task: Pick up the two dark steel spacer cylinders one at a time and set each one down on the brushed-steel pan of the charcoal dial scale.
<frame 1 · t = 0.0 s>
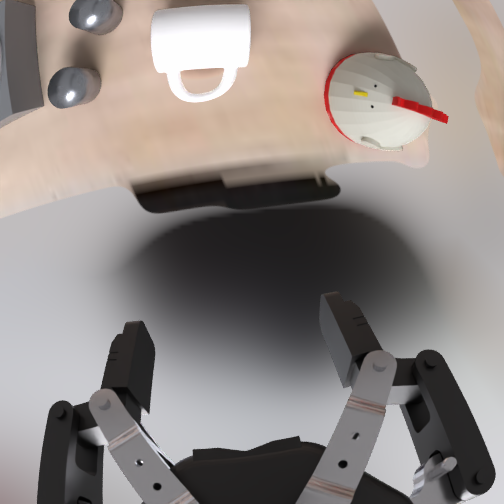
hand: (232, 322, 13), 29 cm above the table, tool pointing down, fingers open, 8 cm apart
spacer 1: (104, 18, 24), on the table
mug: (203, 56, 30), on the table
kitchen timer: (368, 98, 35), on the table
spacer 2: (84, 86, 29), on the table
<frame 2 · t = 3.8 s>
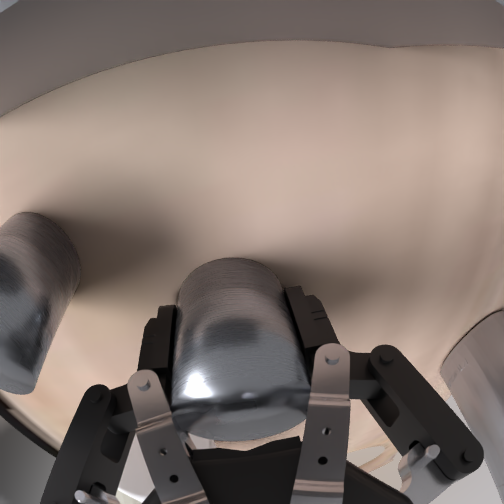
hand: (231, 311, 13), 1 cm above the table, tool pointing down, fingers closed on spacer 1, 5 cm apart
spacer 1: (231, 302, 14), on the table, touching gripper
mug: (145, 418, 20), on the table
kitchen timer: (159, 479, 32), on the table
spacer 2: (37, 259, 11), on the table
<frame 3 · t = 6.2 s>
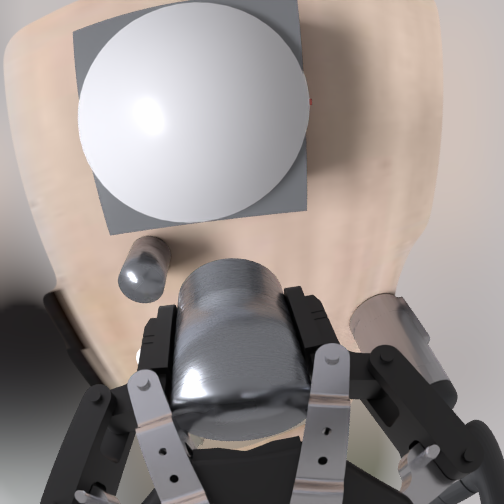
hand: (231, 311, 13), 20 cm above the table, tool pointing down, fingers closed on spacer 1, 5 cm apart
spacer 1: (230, 302, 14), point 19 cm above the table, touching gripper
spacer 2: (150, 254, 34), on the table
scale: (197, 106, 26), on the table
when the fingers open (11 cm above the table, at t = 8.5 s): spacer 1 drops 1 cm, resting on scale.
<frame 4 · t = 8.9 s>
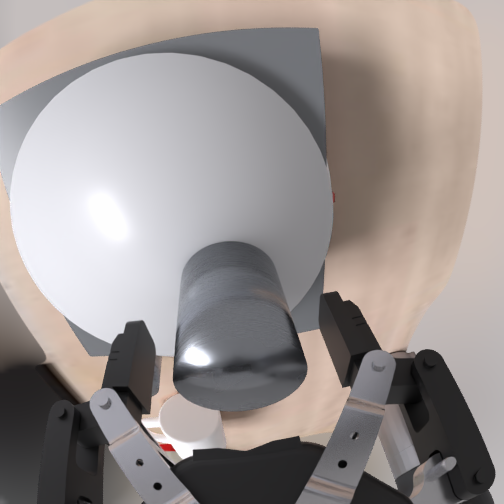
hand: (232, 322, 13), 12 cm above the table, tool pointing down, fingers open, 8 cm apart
spacer 1: (229, 283, 15), point 9 cm above the table, touching scale
mug: (181, 406, 38), on the table
scale: (176, 181, 21), on the table
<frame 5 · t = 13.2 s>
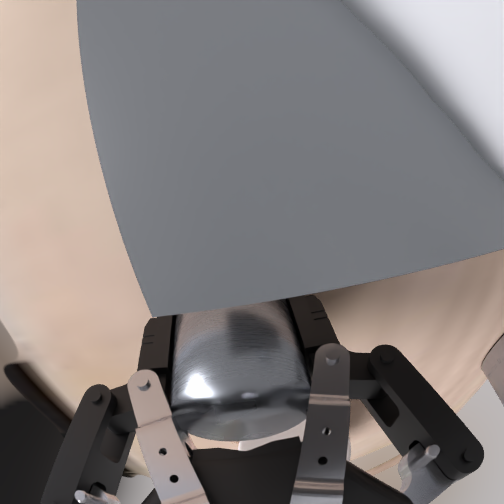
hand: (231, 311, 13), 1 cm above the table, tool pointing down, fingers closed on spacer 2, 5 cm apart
mug: (258, 428, 23), on the table
spacer 2: (231, 302, 14), on the table, touching gripper
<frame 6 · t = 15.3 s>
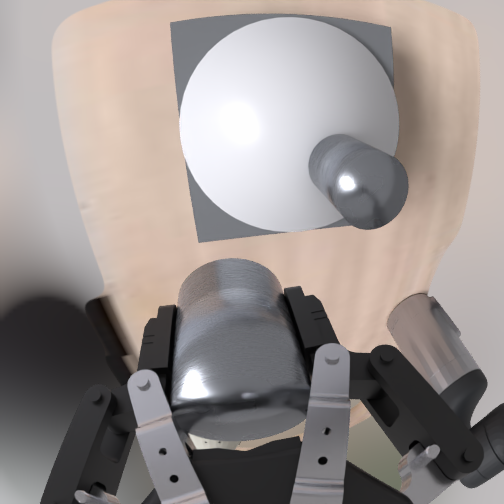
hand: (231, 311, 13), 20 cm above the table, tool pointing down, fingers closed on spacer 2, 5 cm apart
spacer 1: (338, 165, 21), point 9 cm above the table, touching scale
kitchen timer: (210, 412, 55), on the table
spacer 2: (230, 302, 14), point 19 cm above the table, touching gripper
scale: (276, 115, 27), on the table
when the fingers open (11 cm above the table, at t = 17.8 s): spacer 2 drops 1 cm, resting on scale.
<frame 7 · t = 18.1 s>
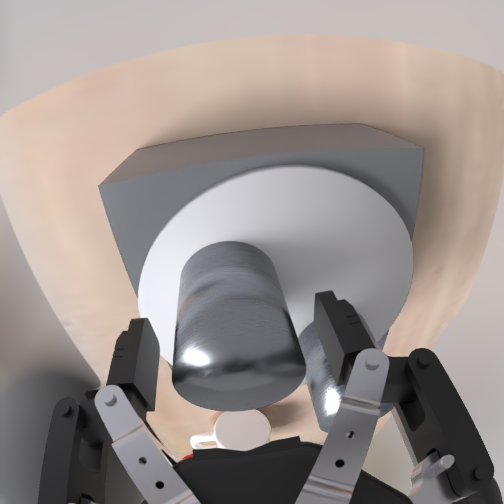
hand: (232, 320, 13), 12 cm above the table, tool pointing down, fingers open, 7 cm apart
spacer 1: (332, 337, 19), point 9 cm above the table, touching scale
mug: (227, 419, 42), on the table
spacer 2: (228, 283, 15), point 9 cm above the table, touching scale
scale: (263, 238, 25), on the table
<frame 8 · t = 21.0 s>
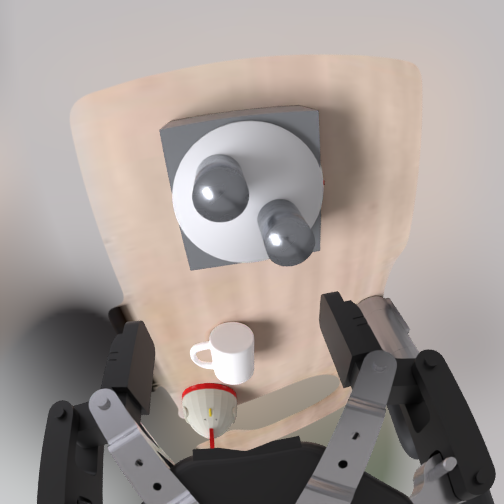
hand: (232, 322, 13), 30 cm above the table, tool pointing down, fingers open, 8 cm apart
spacer 1: (278, 218, 34), point 9 cm above the table, touching scale
mug: (221, 338, 57), on the table
kitchen timer: (209, 396, 68), on the table
spacer 2: (219, 176, 31), point 9 cm above the table, touching scale
scale: (242, 174, 40), on the table
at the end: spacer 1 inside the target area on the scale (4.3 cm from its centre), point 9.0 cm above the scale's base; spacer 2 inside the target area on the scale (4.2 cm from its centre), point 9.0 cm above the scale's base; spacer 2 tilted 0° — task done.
